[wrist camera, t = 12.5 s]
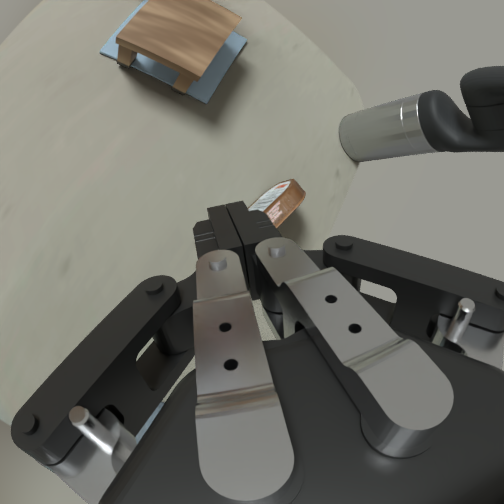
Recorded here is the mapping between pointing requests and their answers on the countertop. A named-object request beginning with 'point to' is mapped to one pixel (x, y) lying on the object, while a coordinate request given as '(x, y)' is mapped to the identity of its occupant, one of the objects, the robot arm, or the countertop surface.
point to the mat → (197, 89)
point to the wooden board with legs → (177, 36)
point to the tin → (280, 201)
